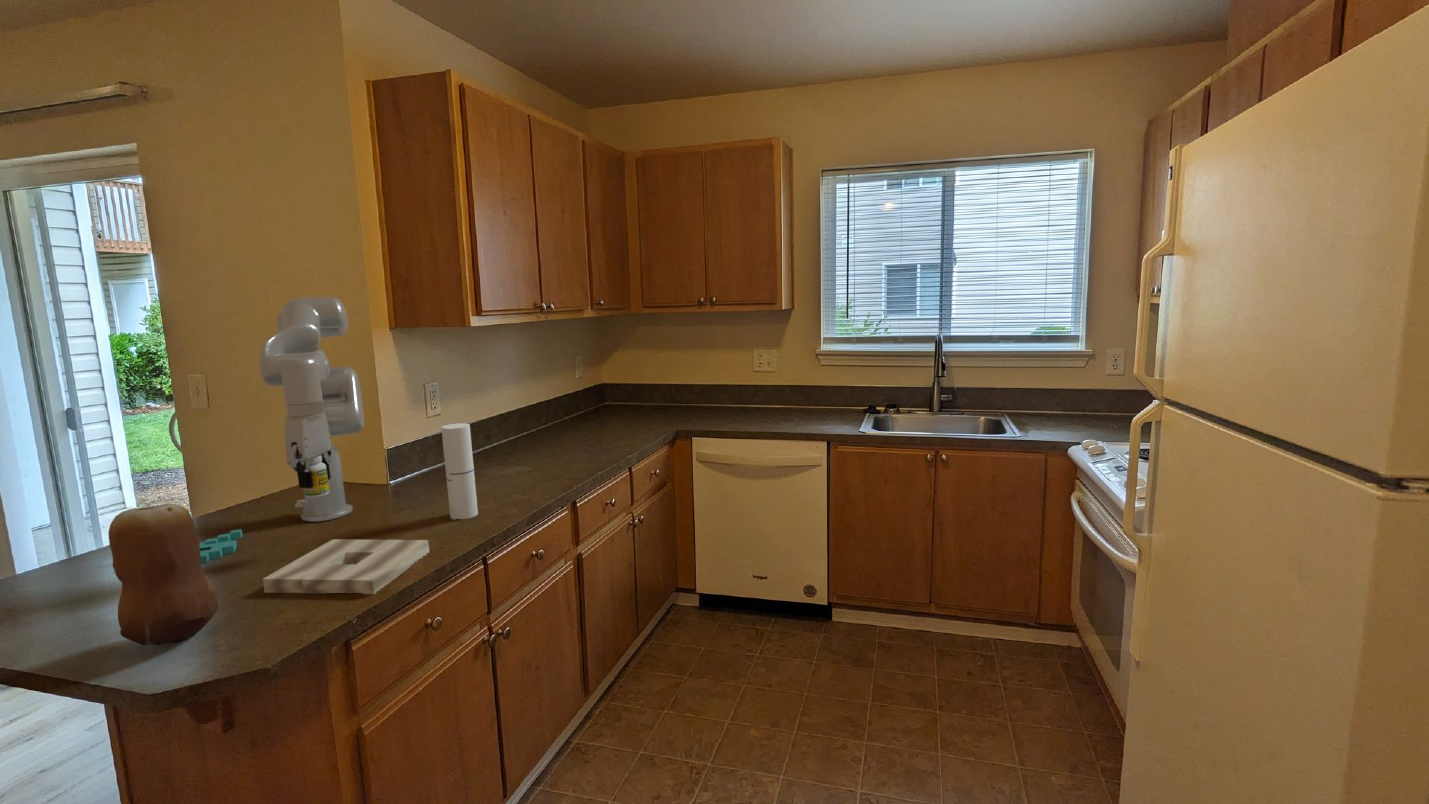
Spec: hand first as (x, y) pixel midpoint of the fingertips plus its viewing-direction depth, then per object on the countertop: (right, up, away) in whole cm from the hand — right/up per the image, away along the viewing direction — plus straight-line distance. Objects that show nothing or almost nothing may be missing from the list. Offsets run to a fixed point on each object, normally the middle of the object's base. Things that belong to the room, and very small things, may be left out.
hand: (315, 482), depth 160 cm
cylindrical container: (+27, -12, +23) cm, 38 cm away
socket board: (+15, -18, -12) cm, 27 cm away
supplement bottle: (0, -3, +1) cm, 3 cm away
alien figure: (-31, -18, 0) cm, 36 cm away
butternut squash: (-1, -24, -40) cm, 47 cm away
